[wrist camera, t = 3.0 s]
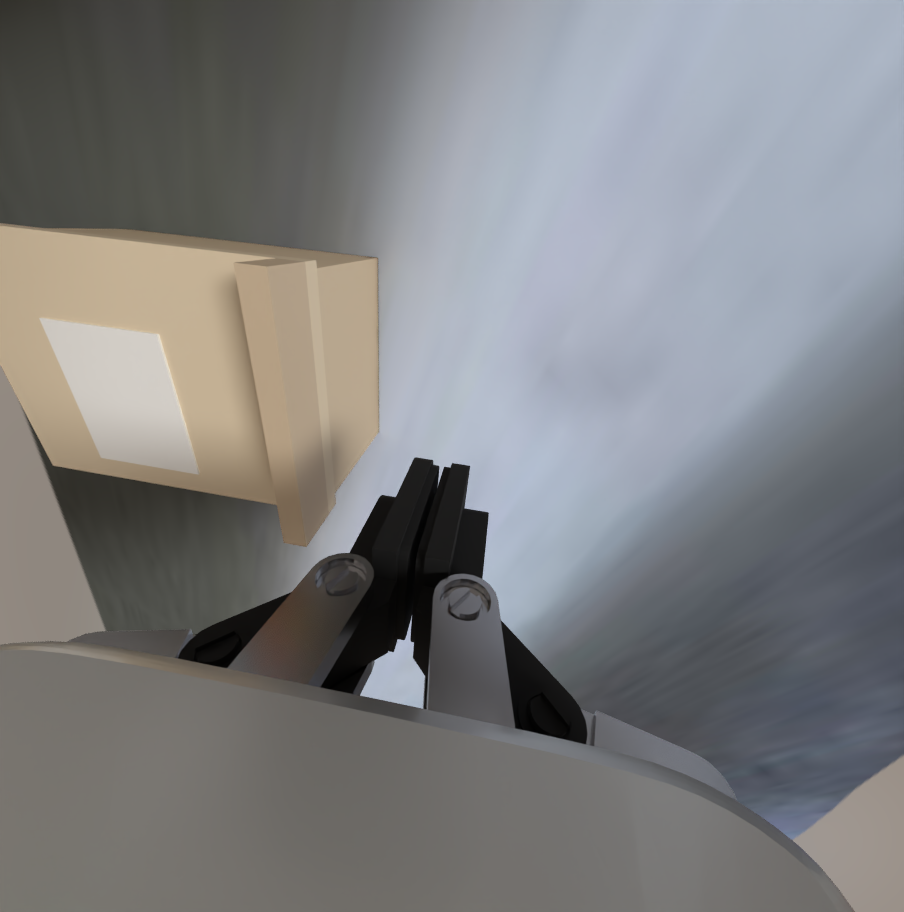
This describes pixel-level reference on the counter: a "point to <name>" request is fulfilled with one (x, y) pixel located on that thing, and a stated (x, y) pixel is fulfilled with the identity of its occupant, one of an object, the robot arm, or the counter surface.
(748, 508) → the counter surface
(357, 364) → the mailer box
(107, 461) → the lid
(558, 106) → the counter surface
